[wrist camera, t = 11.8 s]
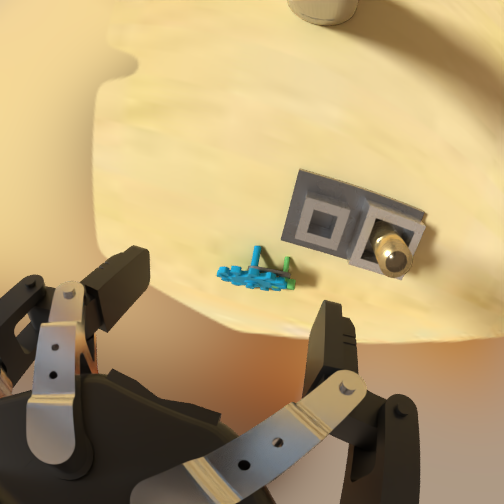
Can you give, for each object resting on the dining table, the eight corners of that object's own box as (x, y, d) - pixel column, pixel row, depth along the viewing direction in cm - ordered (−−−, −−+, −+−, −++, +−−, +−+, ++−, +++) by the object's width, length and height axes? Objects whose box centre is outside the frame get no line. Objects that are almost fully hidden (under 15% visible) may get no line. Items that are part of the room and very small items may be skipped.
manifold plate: (299, 168, 34) (297, 174, 30) (421, 209, 32) (433, 221, 28) (281, 236, 39) (277, 250, 35) (395, 270, 37) (403, 287, 33)
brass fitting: (374, 216, 33) (387, 240, 26) (399, 225, 33) (418, 251, 26) (364, 243, 35) (374, 272, 28) (389, 251, 35) (403, 281, 27)
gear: (217, 285, 43) (212, 271, 33) (225, 250, 45) (222, 227, 35) (286, 298, 43) (300, 288, 33) (292, 263, 45) (306, 243, 35)
